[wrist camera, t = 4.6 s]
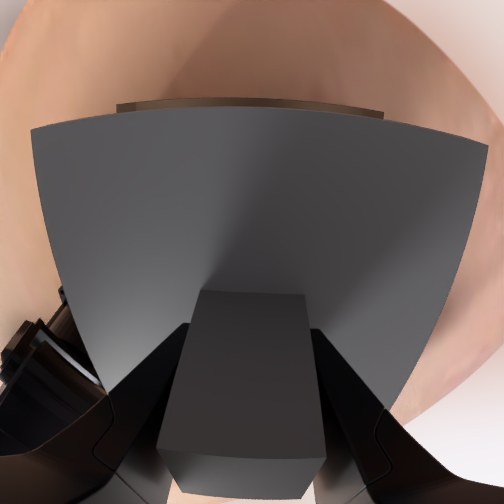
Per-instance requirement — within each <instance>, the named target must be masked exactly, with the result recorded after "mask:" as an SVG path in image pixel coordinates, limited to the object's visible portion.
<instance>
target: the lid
mask: <svg viewBox="0 0 504 504" xmlns="http://www.w3.org/2000/svg"><path fill="white" fill-rule="evenodd" d="M31 141H32V150H33V158H34V166H35V173H36V179H37V185H38V191H39V196H40V202H41V207H42V212H43V216H44V221H45V225H46V229H47V234H48V238H49V242H50V246H51V249H52V253H53V257H54V260H55V264H56V267H57V270H58V274H59V277H60V280H61V283H62V286H63V289H64V292H65V295H66V298H67V301H68V304H69V307H70V310H71V312H72V315H73V318H74V320H75V323H76V325H77V328H78V331H79V333H80V336H81V338H82V340H83V343H84V345H85V347H86V350H87V352H88V354H89V357H90V359H91V361H92V363H93V365H94V368H95V370H96V372H97V374H98V376H99V378H100V380H101V382H102V384H103V386H104V388H105V390H106V392H107V394H108V392H109V391H110V390H111V389H113V388H114V387H115V386H116V385H117V384H118V383H119V382H120V381H121V380H122V379H123V378H124V377H125V376H126V375H127V374H129V373H130V372H131V371H132V370H133V369H134V368H135V367H136V366H137V365H138V364H139V363H140V362H141V361H142V360H143V359H145V358H146V357H147V356H148V355H149V354H150V353H151V352H152V351H153V350H154V349H155V348H156V347H157V346H158V345H159V344H160V343H162V342H163V341H164V340H165V339H166V338H167V337H168V336H169V335H170V334H171V333H172V332H173V331H174V330H175V329H176V328H177V327H179V326H180V325H181V324H182V323H184V322H186V323H190V325H189V329H188V332H187V335H186V339H185V342H184V346H183V349H182V353H181V356H180V360H179V363H178V367H177V370H176V374H175V378H174V381H173V385H172V389H171V392H170V396H169V400H168V403H167V407H166V411H165V415H164V419H163V422H162V426H161V430H160V434H159V438H158V442H157V446H156V448H157V450H158V452H159V454H160V456H161V457H162V459H163V461H164V463H165V465H166V466H167V468H168V470H169V472H170V473H171V475H172V477H173V478H174V480H175V482H176V483H177V485H178V486H179V488H180V490H181V491H182V492H183V493H190V494H197V495H205V496H214V497H225V498H238V499H263V500H271V499H272V500H283V499H285V500H286V499H301V498H302V496H303V495H304V493H305V492H306V490H307V489H308V487H309V485H310V484H311V482H312V481H313V479H314V478H315V476H316V474H317V473H318V471H319V469H320V468H321V466H322V464H323V463H324V461H325V459H326V458H327V457H326V447H325V438H324V429H323V421H322V412H321V404H320V397H319V389H318V381H317V374H316V367H315V360H314V353H313V346H312V339H311V333H310V328H318V329H320V330H321V331H322V332H323V334H324V335H325V336H326V337H327V338H328V340H329V341H330V342H331V343H332V344H333V345H334V347H335V348H336V349H337V350H338V351H339V353H340V354H341V355H342V356H343V357H344V359H345V360H346V361H347V362H348V363H349V364H350V366H351V367H352V368H353V369H354V370H355V372H356V373H357V374H358V375H359V376H360V378H361V379H362V380H363V381H364V382H365V384H366V385H367V386H368V387H369V388H370V390H371V391H372V392H373V393H374V394H375V395H376V397H377V398H378V399H379V400H380V401H381V403H382V404H383V405H384V406H385V409H387V410H388V411H390V409H391V407H392V406H393V404H394V402H395V401H396V399H397V397H398V396H399V394H400V392H401V391H402V389H403V387H404V386H405V384H406V382H407V380H408V378H409V377H410V375H411V373H412V371H413V369H414V367H415V366H416V364H417V362H418V360H419V358H420V356H421V354H422V352H423V350H424V348H425V346H426V344H427V342H428V340H429V338H430V336H431V334H432V331H433V329H434V327H435V325H436V323H437V320H438V318H439V316H440V313H441V311H442V309H443V306H444V304H445V302H446V299H447V297H448V294H449V292H450V289H451V286H452V284H453V281H454V278H455V276H456V273H457V270H458V267H459V264H460V261H461V258H462V255H463V252H464V249H465V246H466V243H467V240H468V236H469V233H470V229H471V226H472V222H473V218H474V215H475V211H476V207H477V203H478V199H479V194H480V190H481V185H482V180H483V175H484V170H485V164H486V159H487V153H488V145H485V144H483V143H480V142H477V141H474V140H471V139H468V138H464V137H461V136H457V135H453V134H449V133H445V132H441V131H437V130H433V129H429V128H424V127H420V126H415V125H410V124H406V123H400V122H395V121H390V120H384V119H378V118H372V117H365V116H359V115H351V114H344V113H335V112H326V111H316V110H305V109H292V108H274V107H243V106H215V107H184V108H167V109H153V110H142V111H132V112H124V113H115V114H108V115H101V116H94V117H88V118H82V119H76V120H70V121H65V122H60V123H55V124H50V125H46V126H43V127H39V128H35V129H32V130H31Z"/></svg>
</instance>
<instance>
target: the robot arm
mask: <svg viewBox="0 0 504 504" xmlns="http://www.w3.org/2000/svg"><path fill="white" fill-rule="evenodd" d="M58 292H59V295H60V298H61V301H62V305H61V306H60V308H59V309H58V310H57V311H56V313H55V314H54V315H53V317H52V318H51V319H50V321H49V322H48V323H47V325H45V324H44V322H43V321H42V320H41V319H40V318H39V319H38V320H37V321H36V322H35V324H34V323H33V322H30V321H27V320H26V321H25V322H24V323H23V324H22V326H21V327H20V328H19V330H18V331H17V332H16V333H15V335H14V336H13V337H12V339H11V340H10V341H9V343H8V344H7V345H6V347H5V348H4V350H3V351H2V352H1V361H2V365H1V366H0V368H1V371H0V380H1V381H2V382H3V384H2V386H1V387H0V504H166V503H167V499H168V495H169V491H170V487H171V483H172V479H173V477H172V475H171V473H170V472H169V470H168V468H167V466H166V465H165V463H164V461H163V459H162V457H161V456H160V454H159V452H158V450H157V448H156V446H157V442H158V438H159V434H160V430H161V426H162V422H163V419H164V415H165V411H166V407H167V403H168V400H169V396H170V392H171V389H172V385H173V381H174V378H175V374H176V370H177V367H178V363H179V360H180V356H181V353H182V349H183V346H184V342H185V339H186V335H187V332H188V329H189V325H190V323H186V322H184V323H182V324H181V325H180V326H179V327H177V328H176V329H175V330H174V331H173V332H172V333H171V334H170V335H169V336H168V337H167V338H166V339H165V340H164V341H163V342H162V343H160V344H159V345H158V346H157V347H156V348H155V349H154V350H153V351H152V352H151V353H150V354H149V355H148V356H147V357H146V358H145V359H143V360H142V361H141V362H140V363H139V364H138V365H137V366H136V367H135V368H134V369H133V370H132V371H131V372H130V373H129V374H127V375H126V376H125V377H124V378H123V379H122V380H121V381H120V382H119V383H118V384H117V385H116V386H115V387H114V388H113V389H111V390H110V391H109V392H108V394H107V392H106V390H105V388H104V386H103V384H102V382H101V380H100V378H99V376H98V374H97V372H96V370H95V368H94V365H93V363H92V361H91V359H90V357H89V354H88V352H87V350H86V347H85V345H84V343H83V340H82V338H81V336H80V333H79V331H78V328H77V325H76V323H75V320H74V318H73V315H72V312H71V310H70V307H69V304H68V301H67V298H66V295H65V292H64V289H63V286H61V287H60V288H59V289H58ZM310 333H311V339H312V346H313V353H314V360H315V367H316V374H317V381H318V389H319V397H320V404H321V412H322V421H323V429H324V438H325V447H326V457H327V458H326V459H325V461H324V463H323V464H322V466H321V468H320V469H319V471H318V473H317V474H316V476H315V478H314V479H313V485H314V494H315V501H316V504H504V487H499V486H493V485H488V484H484V483H479V482H475V481H470V480H466V479H463V478H461V477H459V476H457V475H455V474H453V473H452V472H450V471H449V470H447V469H446V468H445V467H444V466H443V465H441V463H440V462H439V461H437V460H436V459H435V458H434V457H433V456H432V455H431V454H430V453H429V452H428V451H427V450H425V449H424V448H423V447H422V446H421V445H420V444H419V443H418V442H417V441H416V440H415V439H414V438H413V437H412V436H411V435H410V434H409V433H408V432H407V431H406V430H405V429H404V428H403V427H402V426H401V425H400V424H399V422H398V421H397V420H396V419H395V418H394V417H393V416H392V414H391V413H390V412H389V411H388V410H387V409H385V406H384V405H383V404H382V403H381V401H380V400H379V399H378V398H377V397H376V395H375V394H374V393H373V392H372V391H371V390H370V388H369V387H368V386H367V385H366V384H365V382H364V381H363V380H362V379H361V378H360V376H359V375H358V374H357V373H356V372H355V370H354V369H353V368H352V367H351V366H350V364H349V363H348V362H347V361H346V360H345V359H344V357H343V356H342V355H341V354H340V353H339V351H338V350H337V349H336V348H335V347H334V345H333V344H332V343H331V342H330V341H329V340H328V338H327V337H326V336H325V335H324V334H323V332H322V331H321V330H320V329H318V328H310Z"/></svg>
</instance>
